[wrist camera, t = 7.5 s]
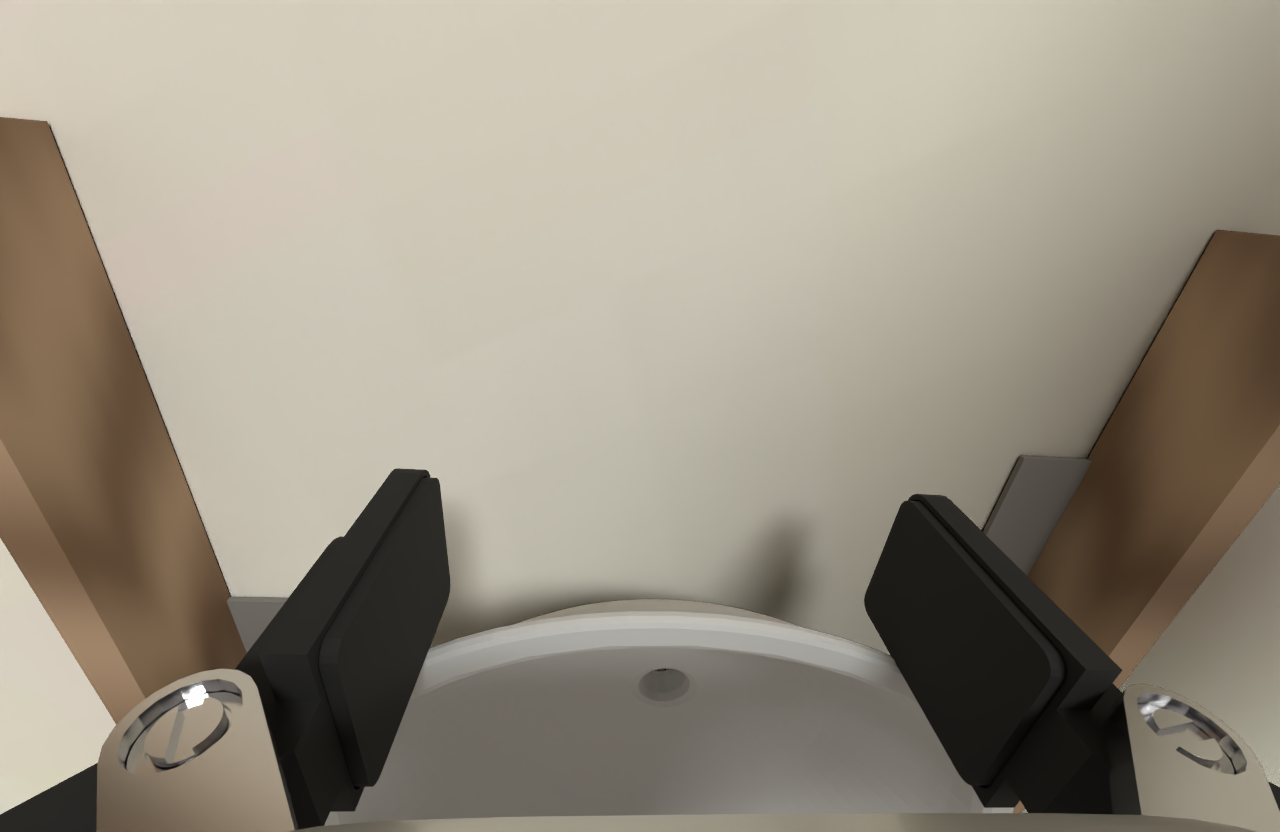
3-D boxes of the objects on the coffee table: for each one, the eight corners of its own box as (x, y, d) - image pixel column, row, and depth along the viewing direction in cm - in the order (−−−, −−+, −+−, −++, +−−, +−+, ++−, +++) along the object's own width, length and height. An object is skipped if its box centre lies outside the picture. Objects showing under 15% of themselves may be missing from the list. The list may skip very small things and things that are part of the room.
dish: (1008, 580, 16) (1165, 743, 11) (773, 811, 21) (816, 982, 17) (457, 376, 12) (362, 504, 7) (347, 727, 17) (255, 921, 13)
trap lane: (-13, 115, 9) (-623, 63, 5) (1257, 233, 11) (1687, 276, 7) (310, 866, 21) (230, 1050, 17) (883, 855, 24) (947, 1016, 19)
